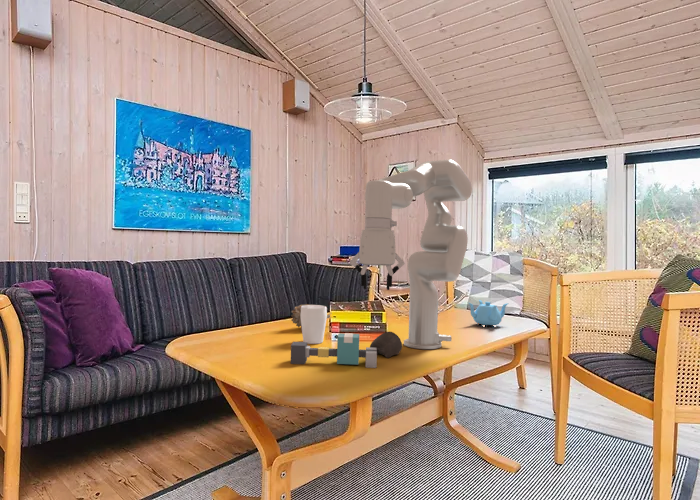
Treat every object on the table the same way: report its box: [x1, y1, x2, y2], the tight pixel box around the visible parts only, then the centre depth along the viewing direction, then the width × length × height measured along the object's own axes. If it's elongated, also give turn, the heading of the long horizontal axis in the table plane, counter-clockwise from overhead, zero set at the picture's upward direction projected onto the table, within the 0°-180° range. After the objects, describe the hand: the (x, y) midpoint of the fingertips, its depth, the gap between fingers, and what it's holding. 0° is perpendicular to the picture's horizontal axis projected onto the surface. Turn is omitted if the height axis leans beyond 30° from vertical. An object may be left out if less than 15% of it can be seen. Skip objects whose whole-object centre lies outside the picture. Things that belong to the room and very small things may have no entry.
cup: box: [300, 304, 328, 345], centre depth 160 cm, size 9×9×12 cm
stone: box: [369, 331, 403, 359], centre depth 145 cm, size 10×8×10 cm
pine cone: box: [290, 303, 331, 329], centre depth 184 cm, size 22×10×10 cm, turn 136°
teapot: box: [468, 299, 509, 326], centre depth 198 cm, size 13×13×10 cm
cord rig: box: [290, 341, 378, 369], centre depth 133 cm, size 24×7×5 cm, turn 88°
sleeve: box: [336, 332, 360, 365], centre depth 133 cm, size 6×5×8 cm
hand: (376, 288), depth 132 cm, fingers open, 5 cm apart
